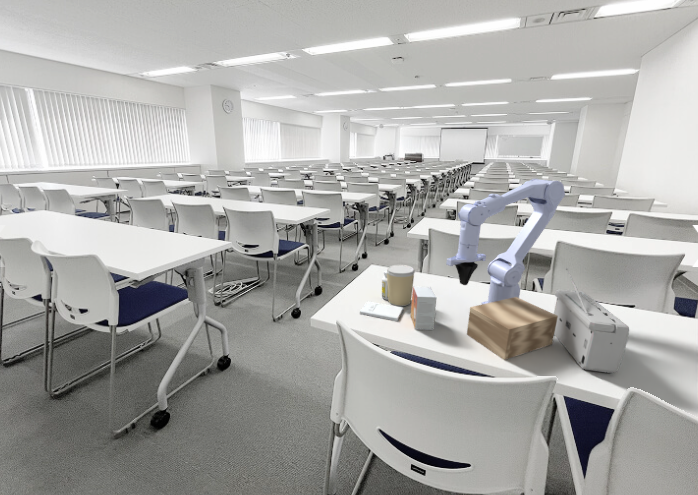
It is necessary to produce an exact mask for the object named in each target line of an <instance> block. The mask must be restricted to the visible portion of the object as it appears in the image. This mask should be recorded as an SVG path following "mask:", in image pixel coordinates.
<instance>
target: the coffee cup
mask: <svg viewBox="0 0 698 495" xmlns="http://www.w3.org/2000/svg"><path fill="white" fill-rule="evenodd" d="M386 270H387V284H388V302H389V305H391V306H397V307H405V306H409V305H411V304H412V293H413V286H414V280H415V279H414V277H415V273H416V272H415V270H414V267H412V266H410V265H405V264H393V265H389V266H388V267H387V268H386Z"/></svg>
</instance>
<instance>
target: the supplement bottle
mask: <svg viewBox="0 0 698 495" xmlns="http://www.w3.org/2000/svg"><path fill="white" fill-rule="evenodd" d="M381 298H382V299H383V300H385V301H386V300H388V284H387V269H385V270H383V277H382V278H381ZM388 301H389V300H388Z"/></svg>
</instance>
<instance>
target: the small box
mask: <svg viewBox="0 0 698 495" xmlns="http://www.w3.org/2000/svg"><path fill="white" fill-rule="evenodd" d="M410 306H411V308H410V318H411V321H412V325H413V328H414V330H426V331H427V330H429V331H431V330H432V331H433V330H434V325H435V318H436V317H435V315H436V308H437V307H436V306H437V296H436V295H435V292H434V291H433V289H432V287H431V286H420V285H419V286H417V285H416V286H415V285H413V288H412V297H411V304H410Z"/></svg>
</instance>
